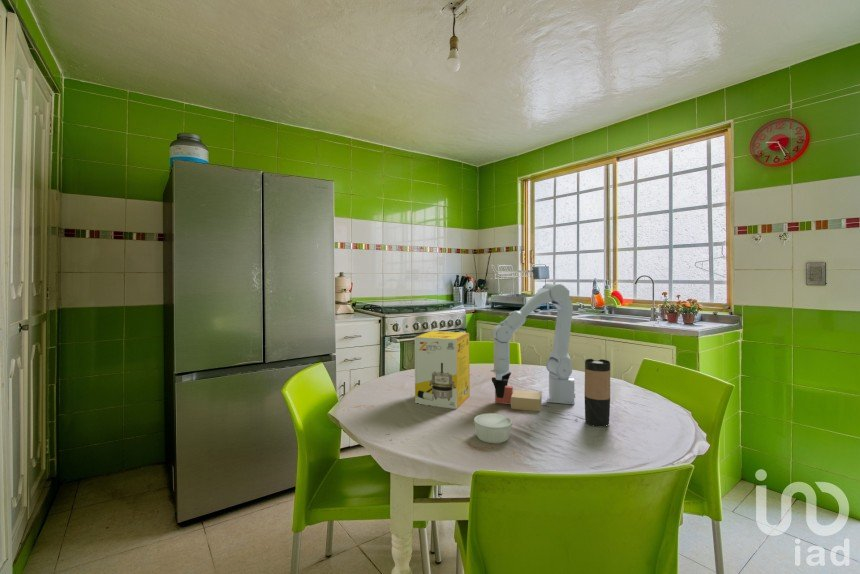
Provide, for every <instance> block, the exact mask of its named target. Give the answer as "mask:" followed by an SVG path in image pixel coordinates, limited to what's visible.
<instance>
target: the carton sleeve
mask: <svg viewBox="0 0 860 574" xmlns="http://www.w3.org/2000/svg"><path fill="white" fill-rule="evenodd" d="M542 395H543V393H542V391H532V390H531V391H530V390H520V389H513V394H512V396H511V404H510V409H512V410H519V411H521V410H524V411H531V412H532V411H533V412H541V408H542V404H543V403H542Z"/></svg>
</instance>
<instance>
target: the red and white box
mask: <svg viewBox="0 0 860 574" xmlns="http://www.w3.org/2000/svg"><path fill="white" fill-rule="evenodd" d="M513 388H514V386H513V385H507V386H505V390H504V396H503V398H497V395H496V390H495V389H494V400H495V401H494V402H495V403H500V404H510V405H511V396H512V394H513V391H514V389H513Z"/></svg>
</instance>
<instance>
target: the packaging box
mask: <svg viewBox="0 0 860 574" xmlns="http://www.w3.org/2000/svg"><path fill="white" fill-rule="evenodd" d="M470 379H471V378H470V333H469V332H459V331H458V332H457V331H437V330H430V331H427V332H424V333H422V334H419V335H417V336H414V400H415V401H414V404H415V403H419V404H418V405H420V404H426V405H425V406H428V405H431V406H430V407H436V406H437V408H444V409H446V408H447V409H453V410H457V409H459V407H460V406H461V405H462V404H463V403H464V402H465V401H466V400H468V398H469V397H470V395H471V394H470V390H471V389H470V388H471V387H470V386H471V385H470Z"/></svg>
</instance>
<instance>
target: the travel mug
mask: <svg viewBox="0 0 860 574" xmlns="http://www.w3.org/2000/svg"><path fill="white" fill-rule="evenodd" d="M610 409H611V361H610V360H607V359H599V360H595V359H593V358H587V359H585V360H584V421H585V423H586V424H587V425H589V424H590V425H589V426H592V425H594V426H593V427H596V426H606V425H608V424H609V425H610V416H611V415H610V413H611V411H610ZM609 425H608V426H609ZM606 427H607V426H606Z"/></svg>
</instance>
